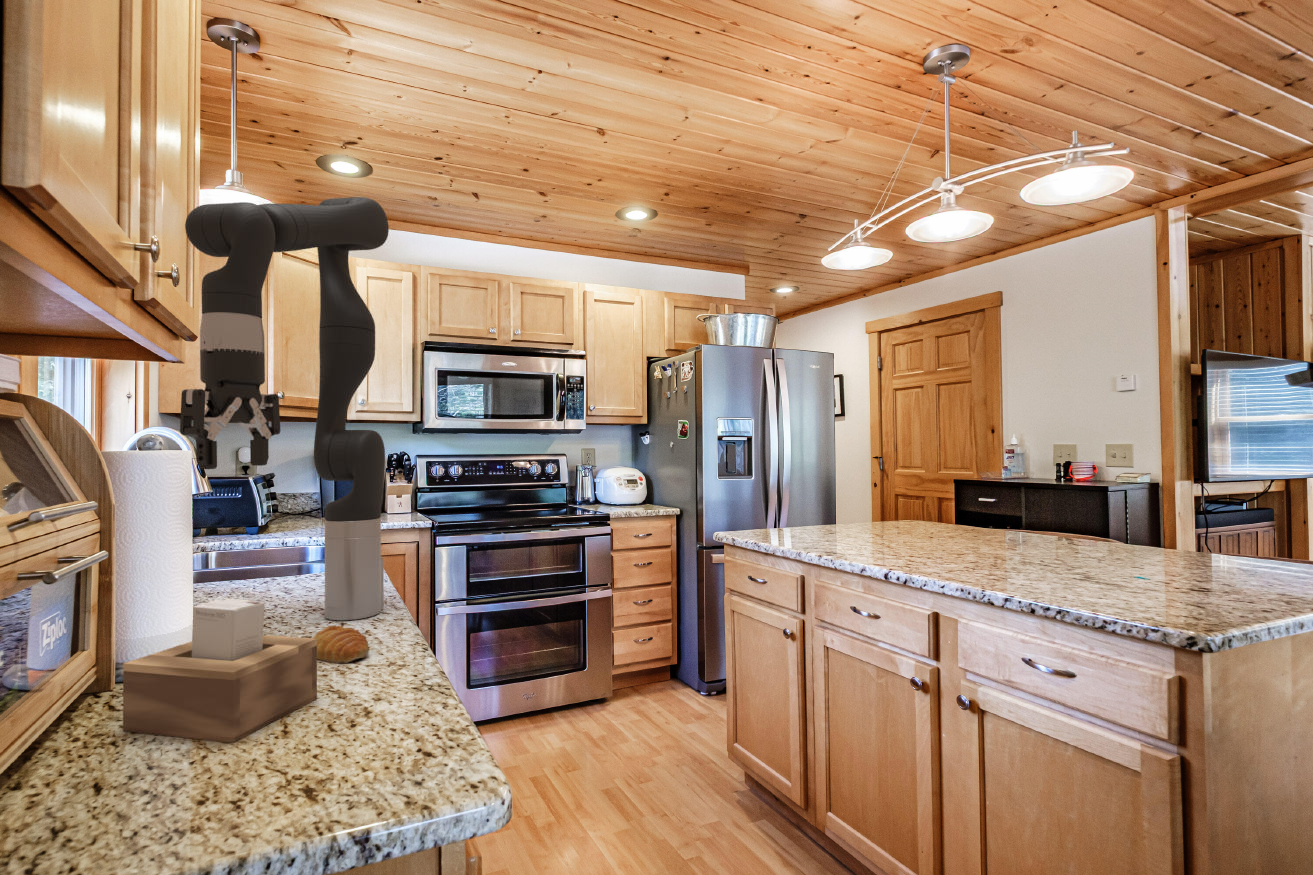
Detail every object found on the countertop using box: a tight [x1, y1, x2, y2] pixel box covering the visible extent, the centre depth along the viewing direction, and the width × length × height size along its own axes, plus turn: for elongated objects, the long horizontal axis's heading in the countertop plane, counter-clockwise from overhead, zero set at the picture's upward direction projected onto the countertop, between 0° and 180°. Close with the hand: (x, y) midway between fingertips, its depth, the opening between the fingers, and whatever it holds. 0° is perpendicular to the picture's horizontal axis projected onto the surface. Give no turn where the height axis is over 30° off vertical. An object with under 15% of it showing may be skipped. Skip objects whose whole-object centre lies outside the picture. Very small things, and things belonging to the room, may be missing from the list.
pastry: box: [312, 625, 370, 664], centre depth 96 cm, size 9×7×4 cm
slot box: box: [122, 634, 318, 744], centre depth 75 cm, size 12×14×7 cm
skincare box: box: [191, 597, 265, 661], centre depth 75 cm, size 6×4×12 cm
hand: (234, 467), depth 92 cm, fingers open, 8 cm apart
